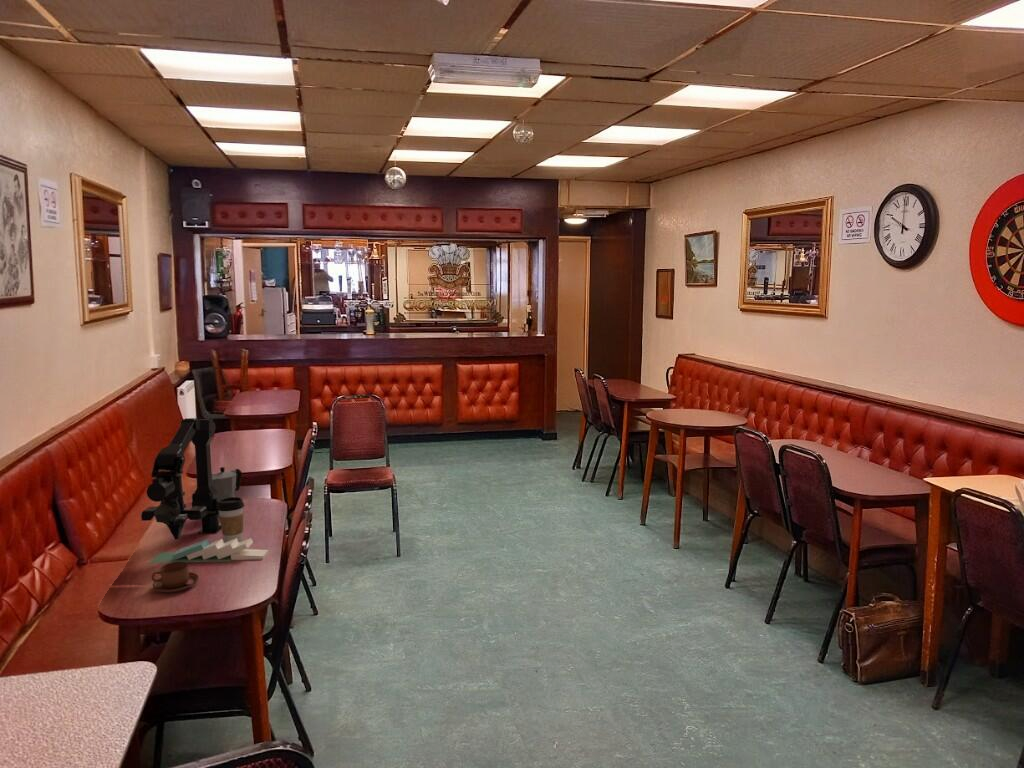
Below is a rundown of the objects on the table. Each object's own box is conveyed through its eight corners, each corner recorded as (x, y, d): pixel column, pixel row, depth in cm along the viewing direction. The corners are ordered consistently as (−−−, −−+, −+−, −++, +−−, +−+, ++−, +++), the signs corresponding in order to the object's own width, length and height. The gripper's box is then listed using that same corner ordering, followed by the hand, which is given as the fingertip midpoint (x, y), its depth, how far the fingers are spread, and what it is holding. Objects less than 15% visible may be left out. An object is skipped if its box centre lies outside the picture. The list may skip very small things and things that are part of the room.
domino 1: (179, 549, 233) (208, 538, 232) (182, 553, 233) (210, 543, 232) (172, 555, 228) (201, 544, 227) (174, 560, 228) (203, 549, 227)
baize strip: (160, 554, 235) (160, 552, 235) (239, 553, 234) (239, 551, 234) (148, 564, 227) (148, 562, 227) (229, 563, 226) (229, 561, 226)
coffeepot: (221, 521, 264) (217, 473, 261) (202, 518, 268) (198, 470, 266) (253, 508, 278) (249, 462, 275) (235, 505, 282) (231, 460, 279)
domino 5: (237, 548, 233) (268, 550, 232) (237, 553, 233) (268, 554, 233) (230, 554, 228) (262, 556, 228) (231, 559, 228) (262, 561, 228)
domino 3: (208, 549, 233) (236, 538, 232) (210, 553, 233) (238, 542, 232) (201, 555, 228) (230, 544, 227) (203, 559, 228) (232, 548, 227)
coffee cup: (216, 547, 239) (212, 503, 237) (225, 538, 248) (221, 495, 245) (242, 547, 240) (238, 503, 237) (250, 537, 248) (247, 495, 246)
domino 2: (193, 549, 233) (221, 538, 232) (195, 553, 233) (224, 543, 232) (186, 555, 228) (215, 544, 227) (188, 560, 228) (217, 549, 227)
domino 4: (222, 548, 233) (251, 537, 232) (224, 553, 233) (253, 542, 232) (216, 555, 228) (245, 543, 227) (218, 559, 228) (247, 548, 227)
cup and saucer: (157, 600, 202) (155, 579, 201) (149, 585, 212) (147, 565, 211) (203, 588, 209) (201, 568, 208) (193, 574, 219) (191, 555, 218)
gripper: (129, 500, 219) (134, 549, 222) (190, 499, 219) (195, 548, 222) (147, 488, 230) (152, 536, 233) (206, 488, 230) (210, 535, 233)
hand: (177, 539), depth 230 cm, fingers closed
